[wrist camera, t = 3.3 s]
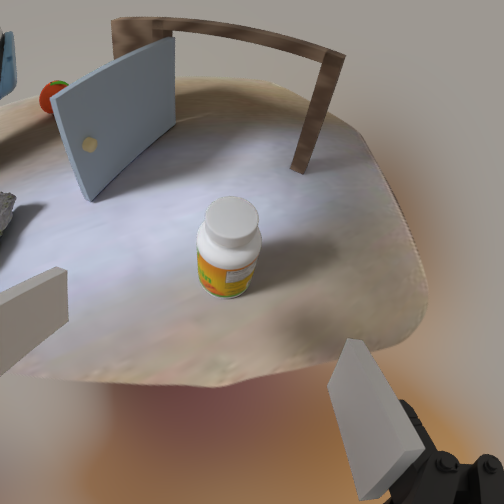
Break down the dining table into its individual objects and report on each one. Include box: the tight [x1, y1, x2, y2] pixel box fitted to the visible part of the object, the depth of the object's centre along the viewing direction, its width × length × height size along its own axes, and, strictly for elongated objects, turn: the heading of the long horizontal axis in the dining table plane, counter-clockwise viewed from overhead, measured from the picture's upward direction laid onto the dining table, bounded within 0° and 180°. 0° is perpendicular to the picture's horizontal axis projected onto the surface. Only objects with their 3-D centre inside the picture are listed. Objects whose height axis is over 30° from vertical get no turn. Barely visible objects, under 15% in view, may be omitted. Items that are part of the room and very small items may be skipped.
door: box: [50, 37, 176, 202], centre depth 30 cm, size 19×3×15 cm, turn 155°
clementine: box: [39, 81, 69, 113], centre depth 40 cm, size 8×7×7 cm
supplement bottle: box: [197, 196, 262, 299], centre depth 25 cm, size 5×5×10 cm
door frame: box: [111, 17, 346, 174], centre depth 34 cm, size 34×2×18 cm, turn 65°
